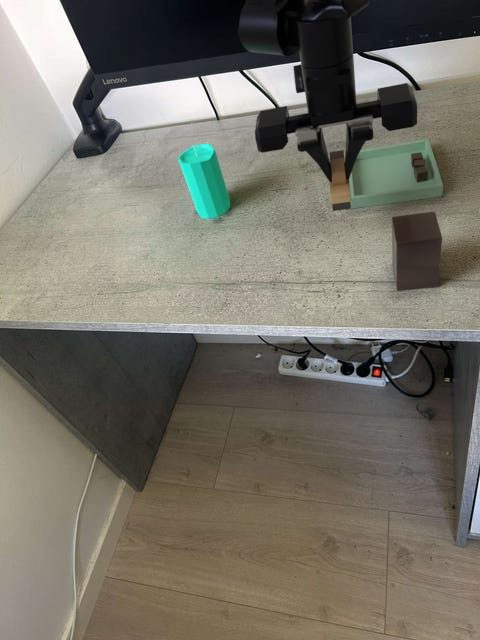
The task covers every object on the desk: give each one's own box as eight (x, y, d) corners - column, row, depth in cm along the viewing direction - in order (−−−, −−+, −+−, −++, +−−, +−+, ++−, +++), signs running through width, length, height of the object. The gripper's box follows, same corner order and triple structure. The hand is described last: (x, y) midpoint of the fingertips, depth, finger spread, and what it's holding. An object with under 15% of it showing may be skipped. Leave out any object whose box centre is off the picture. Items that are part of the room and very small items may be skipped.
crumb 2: (425, 168, 77) (425, 159, 76) (424, 173, 76) (425, 164, 75) (414, 168, 78) (414, 159, 76) (413, 174, 77) (414, 165, 75)
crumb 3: (425, 174, 76) (425, 165, 75) (427, 180, 75) (428, 171, 74) (414, 177, 76) (414, 168, 75) (417, 182, 75) (417, 173, 74)
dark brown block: (431, 260, 64) (435, 211, 59) (438, 287, 61) (442, 237, 55) (392, 264, 66) (391, 216, 60) (396, 291, 62) (396, 243, 56)
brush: (330, 186, 70) (326, 144, 65) (349, 183, 69) (346, 140, 64) (332, 211, 66) (326, 169, 61) (351, 209, 65) (348, 165, 60)
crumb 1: (421, 160, 78) (421, 151, 77) (422, 166, 77) (423, 157, 76) (410, 162, 79) (411, 153, 78) (412, 167, 78) (412, 158, 77)
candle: (201, 223, 82) (178, 160, 74) (194, 204, 86) (172, 142, 78) (234, 211, 82) (215, 146, 74) (226, 193, 86) (207, 130, 78)
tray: (428, 149, 81) (428, 138, 79) (442, 196, 72) (443, 185, 71) (346, 162, 84) (346, 152, 83) (351, 208, 75) (350, 198, 74)
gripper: (406, 12, 57) (405, 136, 68) (250, 47, 61) (273, 158, 73) (419, 50, 50) (416, 181, 61) (242, 86, 54) (269, 202, 65)
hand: (339, 178), depth 65 cm, fingers closed on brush, 2 cm apart
